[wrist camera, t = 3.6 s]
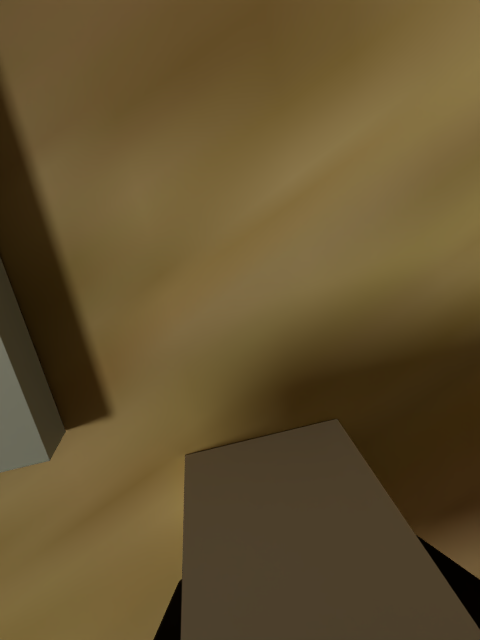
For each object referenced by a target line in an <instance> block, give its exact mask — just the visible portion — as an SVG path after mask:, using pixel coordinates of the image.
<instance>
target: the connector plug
mask: <svg viewBox="0 0 480 640" xmlns="http://www.w3.org/2000/svg"><path fill="white" fill-rule="evenodd" d="M181 640H480V629H479V628H478V626H477V625H476V623H475V622H474V620H473V619H472V617H471V616H470V614H469V613H468V611H467V610H466V608H465V607H464V606H463V604H462V603H461V601H460V600H459V598H458V597H457V595H456V594H455V592H454V591H453V589H452V588H451V586H450V585H449V583H448V582H447V580H446V579H445V577H444V576H443V575H442V573H441V572H440V570H439V569H438V567H437V566H436V564H435V563H434V561H433V560H432V558H431V557H430V555H429V554H428V552H427V551H426V549H425V548H424V546H423V545H422V543H421V542H420V541H419V539H418V538H417V536H416V535H415V533H414V532H413V530H412V529H411V527H410V526H409V524H408V523H407V521H406V520H405V518H404V517H403V515H402V514H401V512H400V511H399V510H398V508H397V507H396V505H395V504H394V502H393V501H392V499H391V498H390V496H389V495H388V493H387V492H386V490H385V489H384V487H383V486H382V484H381V483H380V481H379V480H378V478H377V477H376V476H375V474H374V473H373V471H372V470H371V468H370V467H369V465H368V464H367V462H366V461H365V459H364V458H363V456H362V455H361V453H360V452H359V450H358V449H357V447H356V446H355V445H354V443H353V442H352V440H351V439H350V437H349V436H348V434H347V433H346V431H345V430H344V428H343V427H342V425H341V424H340V422H339V421H338V419H334V420H330V421H326V422H322V423H318V424H313V425H309V426H305V427H301V428H297V429H293V430H289V431H284V432H280V433H276V434H272V435H268V436H264V437H259V438H255V439H251V440H247V441H243V442H239V443H235V444H230V445H226V446H222V447H218V448H214V449H210V450H206V451H201V452H197V453H193V454H189V455H185V478H184V521H183V564H182V608H181Z"/></svg>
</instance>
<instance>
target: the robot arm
mask: <svg viewBox="0 0 480 640" xmlns="http://www.w3.org/2000/svg"><path fill="white" fill-rule="evenodd" d="M415 535H416V534H415ZM416 536H417V535H416ZM417 538H418V539H419V541H420V542H421V543H422V545H423V546H424V548H425V549H426V551H427V552H428V554H429V555H430V557H431V558H432V560H433V561H434V563H435V564H436V566H437V567H438V569H439V570H440V572H441V573H442V575H443V576H444V577H445V579H446V580H447V582H448V583H449V585H450V586H451V588H452V589H453V591H454V592H455V594H456V595H457V597H458V598H459V600H460V601H461V603H462V604H463V606H464V607H465V608H466V610H467V611H468V613H469V614H470V616H471V617H472V619H473V620H474V622H475V623H476V625H477V626H478V628H479V629H480V580H479V579H478V578H477V577H475V576H474V575H472V574H471V573H470V572H468V571H467V570H465V569H464V568H462V567H461V566H460V565H458V564H457V563H455V562H454V561H453V560H451V559H450V558H448V557H447V556H445V555H444V554H443V553H441V552H440V551H438V550H437V549H436V548H434V547H433V546H431V545H430V544H428V543H427V542H426V541H424V540H423V539H421V538H420V537H418V536H417ZM181 608H182V579H181V580H180V581H179V583H178V585H177V587H176V589H175V592H174V594H173V596H172V598H171V601H170V603H169V605H168V608H167V610H166V612H165V614H164V617H163V619H162V621H161V624H160V626H159V628H158V630H157V633H156V635H155V637H154V640H181Z"/></svg>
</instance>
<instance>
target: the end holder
mask: <svg viewBox="0 0 480 640" xmlns="http://www.w3.org/2000/svg"><path fill="white" fill-rule="evenodd" d="M65 432H66V431H65V429H64V426H63V423H62V421H61V418H60V415H59V413H58V410H57V407H56V405H55V402H54V399H53V397H52V394H51V391H50V389H49V386H48V383H47V381H46V378H45V375H44V372H43V370H42V367H41V364H40V362H39V359H38V356H37V354H36V351H35V348H34V346H33V343H32V340H31V338H30V335H29V332H28V330H27V327H26V324H25V322H24V319H23V316H22V314H21V311H20V308H19V306H18V303H17V300H16V298H15V295H14V292H13V290H12V287H11V284H10V282H9V279H8V276H7V274H6V271H5V268H4V266H3V263H2V260H1V258H0V472H4V471H8V470H12V469H17V468H21V467H25V466H29V465H33V464H38V463H42V462H46V461H50V459H51V457H52V455H53V454H54V452H55V450H56V448H57V446H58V445H59V443H60V441H61V439H62V437H63V435H64V434H65Z"/></svg>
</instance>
